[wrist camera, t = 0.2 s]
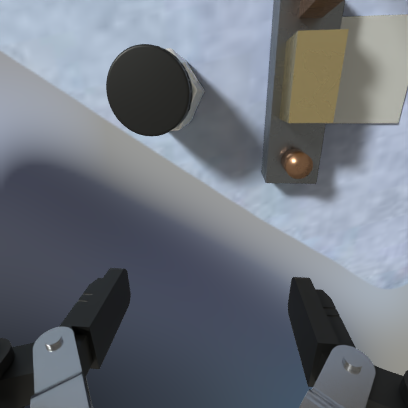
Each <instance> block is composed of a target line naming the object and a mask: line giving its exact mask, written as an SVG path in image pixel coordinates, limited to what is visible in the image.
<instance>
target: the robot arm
mask: <svg viewBox="0 0 408 408" xmlns="http://www.w3.org/2000/svg"><path fill="white" fill-rule="evenodd" d="M129 303H130V287H129V280H128V273H127V270H126V269H119V268H110V269H109V270H108V272H107V273H106V275H105V276H104V278H98V279H97V280H95V281H94V282H93V283H91V284H90V285H89V286H88V288H87V289H86V290H85V292H84V293H83V295H82V296H81V297H80V298H79V301H78V302H77V303H76V304H75V305H74V307H73V308H72V310H71V311H70V312H69V314H68V315H67V317H66V318H65V319H64V321H63V322H62V324H61V325H60V326H59V327H57V328H53V329H51V330H49V331H47V332H45V333H44V334H42V335H41V336H40V337H39V338H38V339H37V341H36V342H35V343H30V344H26V345H21V346H16V347H12V346H11V343H10V341H9V340H7V339H3V338H0V408H24V407H25V406H26V405H30V407H31V408H93V407H92V403H91V398H90V393H89V389H88V385H87V380H86V375H87V373H88V371H89V369H90V368H93V369H100V367H101V364H102V362H103V360H104V358H105V356H106V354H107V352H108V349H109V347H110V345H111V343H112V341H113V338H114V336H115V334H116V332H117V330H118V328H119V326H120V323H121V321H122V319H123V317H124V315H125V312H126V311H127V308H128V306H129ZM288 313H289V318H290V321H291V325H292V329H293V333H294V336H295V340H296V344H297V347H298V351H299V354H300V358H301V361H302V366H303V369H304V373H305V377H306V380H307V384H308V386H309V387H313V389H312V390H309V391H308V392H307V394H306V396H305V398H304V399H303V401H302V403H301V405H300V407H299V408H408V371H406V373H405V374H404V376H401V375H398V374H396V373H392V372H390V371H387V370H384V369H381V368H379V367H377V366H374V365H373V363H372V361H371V360H370V359H369V358H368V357H367V356H366V355H365V354H364V353H363V352H361V351H360V350H358V349H356V348H355V346H354V344H353V342H352V340H351V338H350V336H349V334H348V332H347V330H346V328H345V326H344V324H343V322H342V320H341V318H340V317H339V314H338V312H337V310H336V309H335V306H334V304H333V302H332V299H331V298H330V297H329V296H328V295H327V294H326V293H325V292H324V291H323V290H316V289H315V288H314V286H313V284H312V281H311V280H310V278H301V277H293V278H292V281H291V287H290V294H289V300H288Z"/></svg>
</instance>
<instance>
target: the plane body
mask: <svg viewBox="0 0 408 408" xmlns="http://www.w3.org/2000/svg"><path fill="white" fill-rule="evenodd" d="M344 3H345V0H274V5H273V19H272V33H271V47H270V61H269V74H268V88H267V102H266V116H265V129H264V143H263V157H262V171H261V173H262V175H263V178H264V180H265V182H266V183H308V184H316V182H317V175H318V169H319V162H320V156H321V150H322V143H323V137H324V131H325V124H326V123H287V122H285V121H283V120H281V119H280V108H281V97H282V86H283V75H284V64H285V54H286V43H287V40H288V39H289V38H291V37H292V36H293V35H294V34H295V33H296V32H297V31H305V30H336V29H341V22H342V16H343V9H344Z"/></svg>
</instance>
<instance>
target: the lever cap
mask: <svg viewBox="0 0 408 408" xmlns="http://www.w3.org/2000/svg"><path fill="white" fill-rule="evenodd" d="M348 31H349V29H336V30H305V31H297V32H296V33H295V34H294V35H293V36H292V37H291V38H289V39H288V40H287V43H286V54H285V64H284V75H283V86H282V97H281V108H280V119H281V120H283V121H285V122H287V123H333V121H334V115H335V109H336V103H337V97H338V91H339V85H340V79H341V73H342V67H343V61H344V55H345V49H346V43H347V37H348Z"/></svg>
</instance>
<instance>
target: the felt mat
mask: <svg viewBox="0 0 408 408" xmlns="http://www.w3.org/2000/svg"><path fill="white" fill-rule="evenodd" d="M341 29H349V31H348V37H347V43H346V49H345V55H344V61H343V67H342V73H341V79H340V85H339V91H338V97H337V103H336V109H335V115H334V121H333V123H398V122H399V118H400V114H401V110H402V106H403V102H404V98H405V94H406V91H407V87H408V14H407V15H379V16H352V17H342V22H341Z"/></svg>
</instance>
